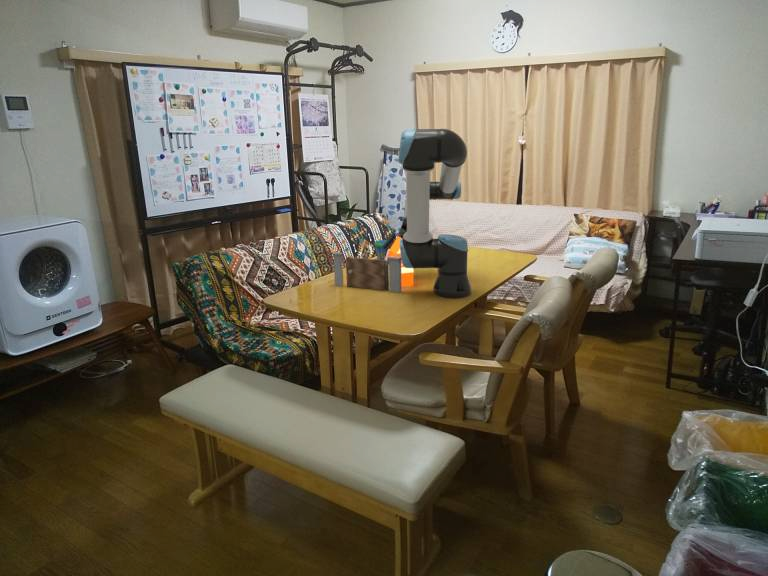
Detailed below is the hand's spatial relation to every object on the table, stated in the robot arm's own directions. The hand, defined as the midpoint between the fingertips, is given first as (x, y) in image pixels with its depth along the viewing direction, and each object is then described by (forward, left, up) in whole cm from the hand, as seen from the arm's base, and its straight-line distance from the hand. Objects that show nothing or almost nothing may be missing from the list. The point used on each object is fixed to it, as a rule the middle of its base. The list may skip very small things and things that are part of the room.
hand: (398, 264), depth 222 cm
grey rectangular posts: (+12, +8, -9) cm, 17 cm away
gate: (+11, +9, -9) cm, 16 cm away
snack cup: (+23, -38, -9) cm, 45 cm away
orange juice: (0, -3, -9) cm, 10 cm away
